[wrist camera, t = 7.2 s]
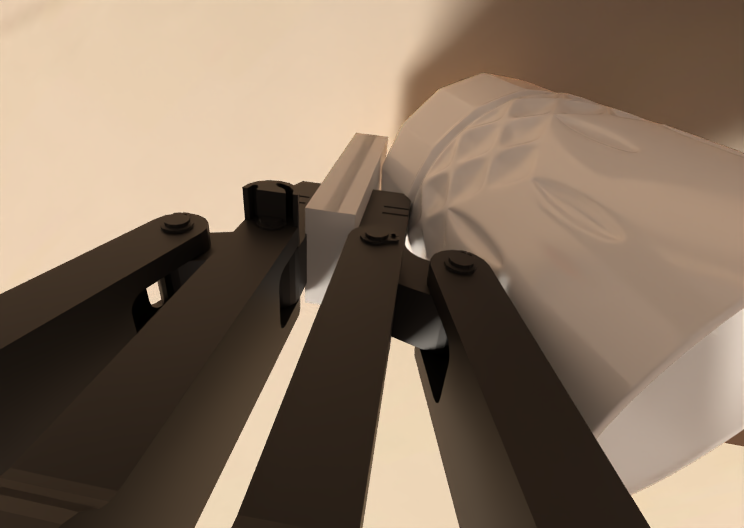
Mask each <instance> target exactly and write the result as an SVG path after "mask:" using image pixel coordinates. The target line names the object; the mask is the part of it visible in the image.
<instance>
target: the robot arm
mask: <svg viewBox="0 0 744 528" xmlns="http://www.w3.org/2000/svg"><path fill="white" fill-rule="evenodd" d="M387 144H388V137H385V136H377V135H369V134H361V133H356V134H355V135H354V137H353V138H352V140H351V141H350V143H349V144H348V145H347V147H346V148H345V150H344V151H343V153H342V154H341V156H340V157H339V159H338V160H337V162H336V163H335V164H334V166H333V167H332V169H331V170H330V172H329V173H328V175H327V176H326V178H325V179H324V181H323V182H322V184H320V183H313V182H305V181H302V182H300V183H298V184H296V185H292V184H290V183H286V182H282V181H272V180H267V181H257V182H253V183H249V184H247V185H246V186H244V187H242V188H243V200H244V212H245V220H244V221H243V222H242V223H241V224H240V225H239V226H238V227H237V228H236V230H235V231H234V232H217V233H210V232H209V224H208V222H207V220H206V219H205V218H203V217H201V216H199V215H195V214H190V213H173V214H171V215H165V216H162V217H159V218H157V219H154V220H152V221H150V222H148V223H146V224H144V225H142V226H140V227H138V228H136V229H134V230H132V231H130V232H128V233H125V234H123V235H121V236H119V237H117V238H115V239H113V240H111V241H109V242H107V243H105V244H103V245H101V246H99V247H97V248H95V249H93V250H90V251H88V252H86V253H84V254H82V255H80V256H78V257H76V258H74V259H72V260H70V261H68V262H66V263H64V264H62V265H60V266H57V267H55V268H53V269H51V270H49V271H47V272H45V273H43V274H41V275H39V276H37V277H35V278H33V279H31V280H29V281H27V282H25V283H22V284H20V285H18V286H16V287H14V288H12V289H10V290H8V291H6V292H4V293H2V294H0V528H195V525H196V523H197V521H198V519H199V517H200V515H201V513H202V511H203V509H204V507H205V505H206V503H207V501H208V499H209V497H210V495H211V493H212V491H213V489H214V487H215V485H216V483H217V481H218V479H219V477H220V475H221V473H222V470H223V468H224V466H225V464H226V462H227V460H228V458H229V456H230V454H231V452H232V450H233V448H234V446H235V444H236V442H237V440H238V438H239V436H240V434H241V432H242V430H243V428H244V426H245V424H246V422H247V420H248V418H249V415H250V413H251V411H252V409H253V407H254V405H255V403H256V401H257V399H258V397H259V395H260V393H261V391H262V389H263V387H264V385H265V383H266V381H267V379H268V377H269V375H270V373H271V371H272V369H273V367H274V365H275V363H276V360H277V358H278V356H279V354H280V352H281V350H282V348H283V346H284V344H285V342H286V340H287V338H288V336H289V334H290V332H291V330H292V328H293V326H294V324H295V322H296V320H297V318H298V316H299V312H300V295H301V293H302V291H303V289H304V287H305V302H306V303H313V304H319V305H320V308H319V310H318V313H317V315H316V318H315V320H314V323H313V325H312V328H311V330H310V333H309V335H308V338H307V340H306V343H305V345H304V348H303V351H302V353H301V356H300V358H299V361H298V363H297V366H296V368H295V371H294V373H293V376H292V378H291V381H290V383H289V386H288V388H287V391H286V393H285V396H284V399H283V401H282V404H281V406H280V409H279V411H278V414H277V416H276V419H275V421H274V424H273V426H272V429H271V431H270V434H269V436H268V439H267V441H266V444H265V447H264V449H263V452H262V454H261V457H260V459H259V462H258V464H257V467H256V469H255V472H254V474H253V477H252V479H251V482H250V484H249V487H248V489H247V492H246V495H245V497H244V500H243V502H242V505H241V507H240V510H239V512H238V515H237V517H236V519H235V521H234V523H233V526H232V527H231V528H362V527H363V521H364V514H365V507H366V501H367V494H368V487H369V481H370V474H371V468H372V461H373V454H374V448H375V441H376V434H377V428H378V421H379V414H380V408H381V401H382V394H383V388H384V381H385V375H386V368H387V361H388V355H389V350H390V343H391V336H392V337H394V338H396V339H399V340H401V341H404V342H406V343H408V344H411V345H413V346H415V359H416V363H417V366H418V370H419V374H420V378H421V382H422V386H423V389H424V393H425V397H426V401H427V405H428V408H429V412H430V416H431V420H432V424H433V428H434V431H435V435H436V439H437V443H438V447H439V451H440V454H441V458H442V462H443V466H444V470H445V473H446V477H447V481H448V485H449V489H450V493H451V496H452V500H453V504H454V508H455V512H456V515H457V519H458V523H459V527H460V528H650V526H649V524H648V523H647V521H646V520H645V518H644V516H643V515H642V513H641V511H640V510H639V508H638V507H637V505H636V503H635V502H634V500H633V498H632V497H631V495H630V494H629V492H628V490H627V489H626V487H625V485H624V484H623V482H622V480H621V479H620V477H619V476H618V474H617V472H616V471H615V469H614V467H613V466H612V464H611V463H610V461H609V459H608V458H607V456H606V454H605V453H604V451H603V450H602V448H601V446H600V445H599V443H598V441H597V440H596V438H595V436H594V435H593V433H592V432H591V430H590V428H589V427H588V425H587V423H586V422H585V420H584V419H583V417H582V415H581V414H580V412H579V410H578V409H577V407H576V406H575V404H574V402H573V401H572V399H571V397H570V396H569V394H568V392H567V391H566V389H565V388H564V386H563V384H562V383H561V381H560V379H559V378H558V376H557V375H556V373H555V371H554V370H553V368H552V366H551V365H550V363H549V362H548V360H547V358H546V357H545V355H544V353H543V352H542V350H541V348H540V347H539V345H538V344H537V342H536V340H535V339H534V337H533V335H532V334H531V332H530V331H529V329H528V327H527V326H526V324H525V322H524V321H523V319H522V318H521V316H520V314H519V313H518V311H517V309H516V308H515V306H514V304H513V303H512V301H511V300H510V298H509V296H508V295H507V293H506V291H505V290H504V288H503V287H502V285H501V283H500V282H499V280H498V278H497V277H496V275H495V274H494V272H493V270H492V269H491V267H490V265H489V264H488V263H487V262H486V261H485V260H484V259H482V258H480V257H478V256H477V255H475V254H473V253H470V252H467V251H463V250H445V251H440V252H438V253H435V254H434V255H433V256H432V258H431V259H430V261H429V260H426V259H423V258H421V257H418V256H416V255H415V254H413V253H411V252H410V251H409V250H408V249H407V248H406V246H405V241H406V234H407V227H408V220H409V212H410V205H411V201H410V199H409V198H408V197H407V196H406V195H405V194H403V193H397V192H389V191H381V173H382V165H383V163H384V161H385V159H386V154H387ZM157 281H158V286H159V290H160V295H161V300H160V301H158V302H157V303H155V304H152V305H151V304H150V302H149V298H148V294H147V290H146V288H147V287H149V286H151V285H152V284H154V283H155V282H157Z"/></svg>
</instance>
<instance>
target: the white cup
mask: <svg viewBox="0 0 744 528" xmlns="http://www.w3.org/2000/svg"><path fill="white" fill-rule="evenodd" d="M381 191H389V192H397V193H403V194H405V195H406V196H407V197H408V198H409V199H410V201H411V205H410V212H409V220H408V227H407V234H406V241H405V246H406V248H407V249H408V250H409V251H410V252H411V253H413V254H415V255H416V256H418V257H421V258H423V259H426V260H429V261H430V259H431V258H432V256H433V255H434V254H435V253H438V252H440V251H445V250H463V251H467V252H470V253H473V254H475V255H477V256H478V257H480V258H482V259H484V260H485V261H486V262H487V263H488V264H489V265H490V267H491V269H492V270H493V272H494V274H495V275H496V277H497V278H498V280H499V282H500V283H501V285H502V287H503V288H504V290H505V291H506V293H507V295H508V296H509V298H510V300H511V301H512V303H513V304H514V306H515V308H516V309H517V311H518V313H519V314H520V316H521V318H522V319H523V321H524V322H525V324H526V326H527V327H528V329H529V331H530V332H531V334H532V335H533V337H534V339H535V340H536V342H537V344H538V345H539V347H540V348H541V350H542V352H543V353H544V355H545V357H546V358H547V360H548V362H549V363H550V365H551V366H552V368H553V370H554V371H555V373H556V375H557V376H558V378H559V379H560V381H561V383H562V384H563V386H564V388H565V389H566V391H567V392H568V394H569V396H570V397H571V399H572V401H573V402H574V404H575V406H576V407H577V409H578V410H579V412H580V414H581V415H582V417H583V419H584V420H585V422H586V423H587V425H588V427H589V428H590V430H591V432H592V433H593V435H594V436H595V438H596V440H597V441H598V443H599V445H600V446H601V448H602V450H603V451H604V453H605V454H606V456H607V458H608V459H609V461H610V463H611V464H612V466H613V467H614V469H615V471H616V472H617V474H618V476H619V477H620V479H621V480H622V482H623V484H624V485H625V487H626V489H627V490H628V492H629V494H630V495H633V494H635V493H637V492H639V491H641V490H643V489H646V488H648V487H650V486H652V485H654V484H656V483H657V482H659V481H661V480H663V479H665V478H667V477H669V476H671V475H672V474H674V473H676V472H678V471H679V470H681V469H683V468H685V467H686V466H688V465H690V464H691V463H693V462H695V461H696V460H698V459H700V458H701V457H703V456H704V455H706V454H708V453H709V452H711V451H712V450H714V449H715V448H717V447H718V446H720V445H722V444H723V443H725V442H726V441H728V440H729V439H730V438H732V437H733V436H735V435H736V434H738V433H739V432H741V431H742V430H744V153H743V152H740V151H737V150H735V149H732V148H729V147H726V146H723V145H721V144H718V143H715V142H712V141H709V140H707V139H704V138H701V137H698V136H696V135H693V134H690V133H687V132H685V131H682V130H679V129H676V128H673V127H671V126H668V125H665V124H662V123H655V122H651V121H649V120H646V119H643V118H641V117H638V116H635V115H633V114H630V113H627V112H624V111H621V110H618V109H615V108H612V107H609V106H605V105H601V104H598V103H595V102H593V101H590V100H587V99H585V98H582V97H579V96H576V95H572V94H568V93H556V92H553V91H550V90H548V89H545V88H543V87H540V86H537V85H535V84H532V83H530V82H527V81H524V80H521V79H515V78H510V77H505V76H499V75H494V74H489V73H481V74H478V75H475V76H472V77H470V78H467V79H464V80H461V81H459V82H456V83H453V84H451V85H448V86H445V87H442V88H440V89H438V90H437V91H436V92H435V93H434V94H433V95H432V96H431V97H430V98H429V99H428V100H427V101H426V102H425V103H424V104H423V105H422V106H420V107H419V108H418V109H417V110H416V111H415V112H414V113H413V114H412V115H411V116H410V117H409V118H408V119H407V120H406V121H405V122H404V123H403V124H402V126H401V128H400V130H399V132H398V134H397V136H396V138H395V140H394V142H393V144H392V146H391V148H390V151H389V153H388V155H387V157H386V159H385V161H384V163H383V165H382V173H381Z"/></svg>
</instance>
